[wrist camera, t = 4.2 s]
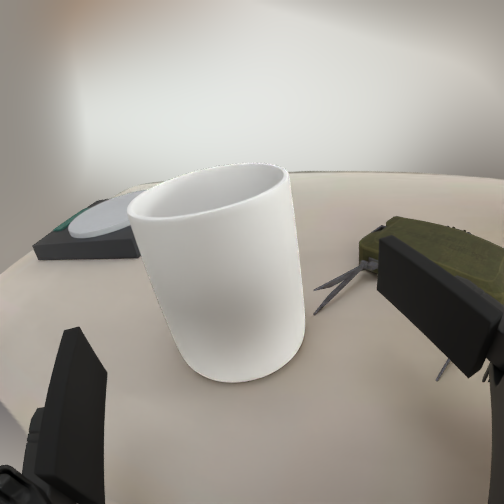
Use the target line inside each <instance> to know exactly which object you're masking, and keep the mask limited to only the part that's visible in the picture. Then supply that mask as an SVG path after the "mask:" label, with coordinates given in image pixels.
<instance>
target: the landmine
mask: <svg viewBox="0 0 504 504" xmlns="http://www.w3.org/2000/svg"><path fill="white" fill-rule="evenodd" d="M390 235H393V236H395V237H396V238H398V239H400V240H401V241H403V242H404V243H406V244H407V245H409V246H410V247H412V248H413V249H415V250H416V251H418V252H420V253H421V254H423V255H424V256H425V257H427V258H428V259H430V260H431V261H433V262H434V263H436V264H437V265H439V266H440V267H442V268H443V269H445V270H446V271H447V272H449V273H450V274H452V275H453V276H454V277H455V276H460V277H463V278H465V279H468V280H470V281H471V282H472V283H474V284H475V285H477V287H478V288H481V289H482V290H484V292H485V293H488V294H489V295H490V296H492V297H493V298H494V299H496V300H497V301H498V302H500V303H501V304H502V305H504V248H502V247H500V246H498V245H496V244H494V243H491V242H489V241H487V240H484V239H482V238H479V237H477V236H474V235H472V234H471V233H470V232H467V233H466V230H464V231H462V230H459V229H456V228H455V227H452V228H450V227H449V226H443V225H439V224H434V223H430V222H425V221H420V220H414V219H408V218H403V217H399V216H395V217H393V218H391V219H390V220H388V221H387V222H386V226H383V225H381V226H380V227H378V228H377V229H375V230H374V231H372V232H371V233H370V234H368V235H367V236H365V237H364V238H362V240H360V242H359V264H360V265H359V266H358V267H356V268H354V269H352V270H350V271H348V272H347V273H345V274H343V275H341V276H339V277H337V278H335V279H333V280H331V281H329V282H328V283H326V284H324V285H322V286H320V287H318V288H316V289H314V291H316V290H320V289H325V288H329V287H332V286H334V285H336V284H338V283H340V282H341V281H343V280H344V281H343V282H342V283H341V284H340V285H339V286H338V287H337V288H336V289H334V290H333V291H332V292H331V293H330V294H329V295H328V296H327V298H326V299H325V300H324V301H323V303H322V304H321V305H320V306H319V308H318V309H317V310H316V311H315V313H314V314H313V315H315V314H316V313H317V312H318V311H319V310H321V309H322V308H323V307H324V306H325V305H326V304H327V303H328V302H329V301H330V300H331V299H332V298H333V297H334V296H335V295H336V294H337V293H338V292H339V291H340V290H341V289H342V288H344V287H345V286H346V285H347V284H348V283H349V282H350V281H351V280H352V279H353V278H354V277H355V276H356V275H357V274H358V273H359V272H360V271H361V270H363V269H366V270H370V271H372V272H375V273H377V274H378V255H379V239H380V238H383V237H386V236H390ZM449 362H450V359H449V358H448V360H447V361H446V363H445V365H444V367H443V368H442V370H441V372H440V373H439V375H438V377H437V378H436V381H438V379H439V378H440V376H441V375H442V373H443V372H444V370H445V368H446V367H447V365H448V364H449Z"/></svg>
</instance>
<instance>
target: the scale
mask: <svg viewBox="0 0 504 504" xmlns="http://www.w3.org/2000/svg"><path fill="white" fill-rule="evenodd" d="M144 191H146V190H141V191H136V192H132V193H128V194H124V195H121V196H118V197H115V198H111V199H105V200H99V201H96V202H95V203H93V204H91V205H90V206H88V207H87V208H85V209H83V210H81V211H80V212H78V213H77V214H75V215H74V216H72V217H71V218H69V219H68V220H66V221H65V222H64V223H62V224H61V225H59V226H58V227H56V228H55V229H54V230H53V231H52V232H51V233H49V234H48V235H46V236H45V237H44V238H42V239H41V240H40V241H38V242H37V243H36V244H34V245H33V248H34V251H35V253H36V256H37V258H38V260H56V259H103V258H138V257H139V256H140V255H141V254H140V251H139V248H138V245H137V243H136V240H135V237H134V234H133V231H132V228H131V225H130V221H129V218H128V215H127V207H128V205H129V204H130V202H131V201H132V200H133V199H134V198H135V197H137V196H138V195H139V194H141V193H143V192H144Z"/></svg>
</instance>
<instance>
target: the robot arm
mask: <svg viewBox="0 0 504 504" xmlns="http://www.w3.org/2000/svg"><path fill="white" fill-rule="evenodd" d="M377 290H378V291H379V292H380V293H381V294H382V295H383V296H384V297H385V298H386V299H387V300H389V301H390V302H391V303H392V304H393V305H394V306H395V307H396V308H397V309H398V310H399V311H400V312H401V313H402V314H404V315H405V316H406V317H407V318H408V319H409V320H410V321H411V322H412V323H413V324H414V325H415V326H416V327H417V328H418V329H419V330H420V331H421V332H422V333H423V334H424V335H425V336H427V337H428V338H429V339H430V340H431V341H432V342H433V343H434V344H435V345H436V346H437V347H438V348H439V349H440V350H441V351H442V352H443V353H444V354H445V355H446V356H447V357H448V358H449V359H450V360H451V361H452V362H453V363H454V364H455V365H456V366H457V367H458V368H459V369H460V370H461V371H462V372H463V373H464V374H465V375H466V376H467V377H468V378H470V377H471V376H472V375H474V374H475V373H476V372H478V371H479V370H480V369H481V368H482V366H483V363H484V361H485V359H486V358H487V359H488V360H489V361H490V364H489V366H488V368H487V370H486V372H485V374H484V376H483V380H482V382H485V380H486V378H487V376H488V374H489V380H488V382H490V391H491V408H492V462H491V478H490V489H489V499H488V504H504V305H502V304H501V303H500V302H498V301H497V300H496V299H494V298H493V297H492V296H490V295H489V294H488V293H485V292H484V290H482V289H481V288H478V287H477V285H475V284H474V283H472V282H471V281H470V280H468V279H465V278H463V277H460V276H455V277H454V276H453V275H452V274H450V273H449V272H447V271H446V270H445V269H443V268H442V267H440V266H439V265H437V264H436V263H434V262H433V261H431V260H430V259H428V258H427V257H425V256H424V255H423V254H421V253H420V252H418V251H416V250H415V249H413V248H412V247H410V246H409V245H407V244H406V243H404V242H403V241H401V240H400V239H398V238H396V237H395V236H393V235H390V236H386V237H383V238H380V239H379V255H378V280H377ZM106 385H107V371H106V370H105V368H104V367H103V365H102V364H101V362H100V360H99V359H98V357H97V356H96V354H95V352H94V351H93V349H92V347H91V346H90V344H89V342H88V341H87V339H86V337H85V336H84V334H83V332H82V330H81V329H80V327H75V328H72V329H68V330H64V333H63V336H62V339H61V343H60V346H59V350H58V353H57V357H56V360H55V364H54V368H53V372H52V376H51V380H50V384H49V388H48V393H47V397H46V402H45V407H43V408H37V410H36V412H35V414H34V415H33V417H32V419H31V423H30V428H29V434H28V438H27V441H28V443H27V445H26V450H25V456H24V462H23V470H22V474H21V473H19V472H18V471H17V470H16V469H14V468H13V467H11V466H9V465H1V466H0V504H105V492H104V419H105V399H106Z"/></svg>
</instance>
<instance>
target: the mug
mask: <svg viewBox="0 0 504 504" xmlns="http://www.w3.org/2000/svg"><path fill="white" fill-rule="evenodd" d="M127 215H128V218H129V221H130V225H131V228H132V231H133V234H134V237H135V240H136V243H137V245H138V248H139V251H140V254H141V257H142V260H143V262H144V265H145V268H146V271H147V273H148V276H149V279H150V282H151V284H152V287H153V289H154V292H155V295H156V297H157V300H158V302H159V305H160V307H161V310H162V312H163V315H164V317H165V320H166V322H167V324H168V327H169V329H170V332H171V334H172V336H173V339H174V341H175V343H176V345H177V348H178V350H179V351H180V353H181V355H182V357H183V359H184V360H185V361H186V363H187V364H188V365H189V366H190V367H191V368H192V369H193V370H194V371H196V372H197V373H199V374H201V375H202V376H204V377H207V378H209V379H212V380H216V381H221V382H233V383H236V382H246V381H251V380H255V379H259V378H262V377H264V376H267V375H269V374H271V373H273V372H275V371H277V370H278V369H280V368H281V367H283V366H284V365H285V364H286V363H288V362H289V361H290V360H291V359H292V358H293V356H294V355H295V354H296V352H297V351H298V349H299V347H300V346H301V343H302V341H303V338H304V333H305V309H304V298H303V288H302V278H301V268H300V259H299V250H298V241H297V232H296V224H295V215H294V207H293V199H292V192H291V184H290V177H289V173H288V171H287V170H286V169H284V168H282V167H280V166H277V165H273V164H266V163H240V164H230V165H223V166H217V167H211V168H206V169H202V170H198V171H194V172H190V173H187V174H184V175H181V176H178V177H175V178H172V179H169V180H167V181H164V182H162V183H160V184H157V185H155V186H153V187H151V188H149V189H148V190H146V191H144V192H143V193H141V194H139V195H138V196H137V197H135V198H134V199H133V200H132V201H131V202H130V204H129V205H128V207H127Z"/></svg>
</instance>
